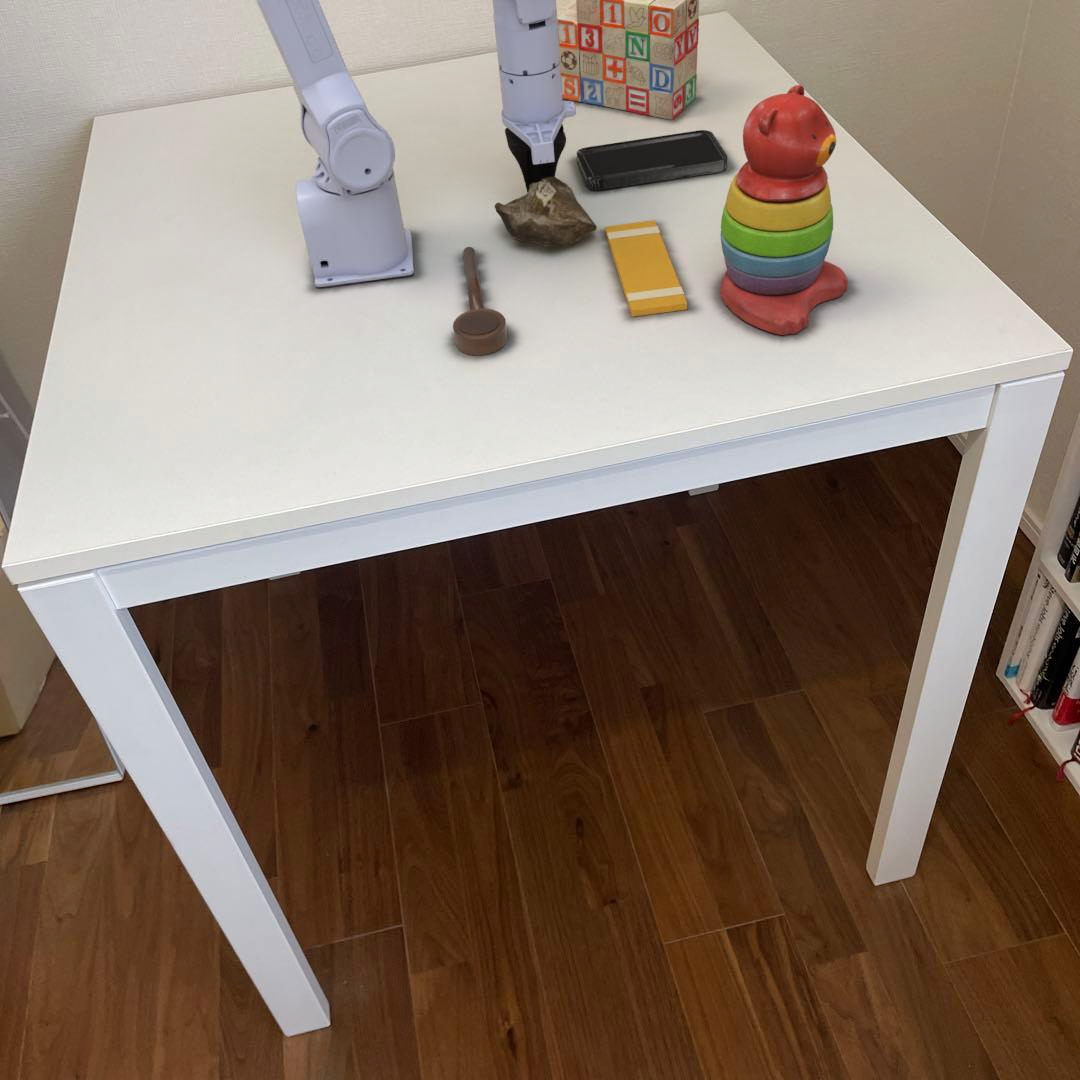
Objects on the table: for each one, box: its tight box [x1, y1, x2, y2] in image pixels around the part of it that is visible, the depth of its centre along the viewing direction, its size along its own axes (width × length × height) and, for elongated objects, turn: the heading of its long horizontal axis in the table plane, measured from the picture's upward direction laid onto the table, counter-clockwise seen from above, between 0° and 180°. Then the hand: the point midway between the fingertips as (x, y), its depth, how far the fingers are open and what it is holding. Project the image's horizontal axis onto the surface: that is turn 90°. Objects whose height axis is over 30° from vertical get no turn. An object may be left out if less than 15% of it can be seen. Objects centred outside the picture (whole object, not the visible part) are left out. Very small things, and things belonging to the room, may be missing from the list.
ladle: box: [452, 246, 508, 357], centre depth 101 cm, size 17×5×2 cm, turn 7°
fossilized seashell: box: [494, 176, 598, 248], centre depth 107 cm, size 8×7×10 cm
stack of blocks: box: [556, 0, 700, 121], centre depth 126 cm, size 21×6×12 cm, turn 58°
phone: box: [576, 129, 728, 191], centre depth 117 cm, size 8×1×15 cm
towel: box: [604, 219, 688, 318], centre depth 103 cm, size 5×15×1 cm, turn 7°
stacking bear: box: [719, 84, 849, 336], centre depth 92 cm, size 11×10×18 cm
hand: (540, 199), depth 111 cm, fingers closed
